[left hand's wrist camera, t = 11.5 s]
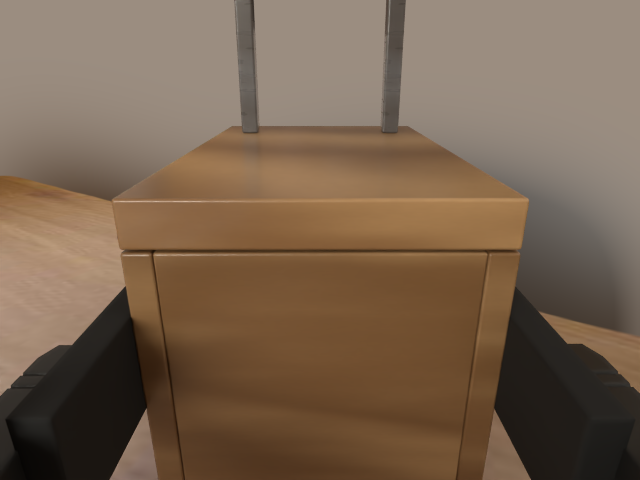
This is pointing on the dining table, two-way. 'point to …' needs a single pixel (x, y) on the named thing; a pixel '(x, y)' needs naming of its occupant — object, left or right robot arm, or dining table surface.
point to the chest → (320, 360)
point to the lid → (320, 182)
